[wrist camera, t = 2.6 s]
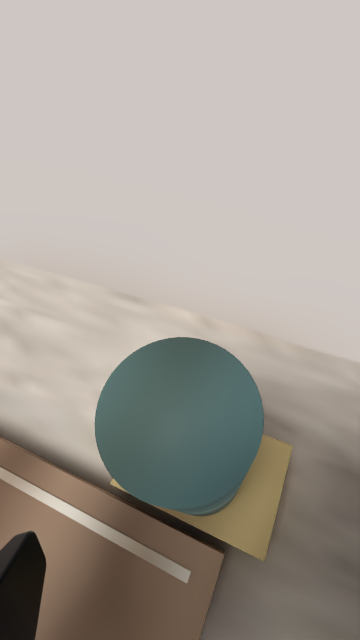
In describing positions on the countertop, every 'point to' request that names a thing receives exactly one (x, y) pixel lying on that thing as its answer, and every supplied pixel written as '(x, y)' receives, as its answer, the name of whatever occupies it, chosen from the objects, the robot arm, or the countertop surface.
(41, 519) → the board
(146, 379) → the teal column with base
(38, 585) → the robot arm
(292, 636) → the countertop surface
